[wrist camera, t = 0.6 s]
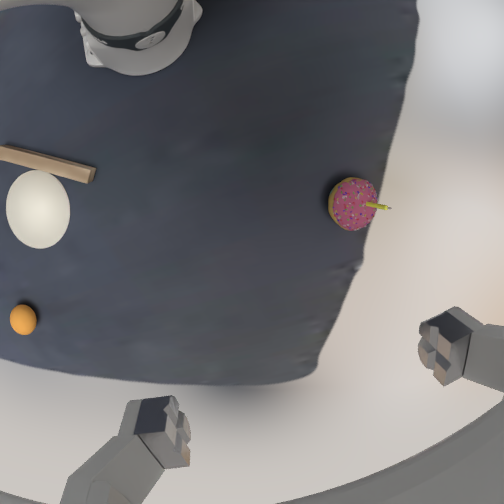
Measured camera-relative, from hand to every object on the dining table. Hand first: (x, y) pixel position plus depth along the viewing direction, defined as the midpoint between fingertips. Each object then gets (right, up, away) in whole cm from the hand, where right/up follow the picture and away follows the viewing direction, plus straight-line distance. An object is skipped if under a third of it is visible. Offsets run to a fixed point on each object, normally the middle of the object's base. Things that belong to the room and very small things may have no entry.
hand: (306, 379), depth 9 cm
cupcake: (+13, +13, +42) cm, 46 cm away
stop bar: (-34, +18, +29) cm, 48 cm away
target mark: (-36, +11, +32) cm, 49 cm away
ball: (-43, -8, +34) cm, 55 cm away
